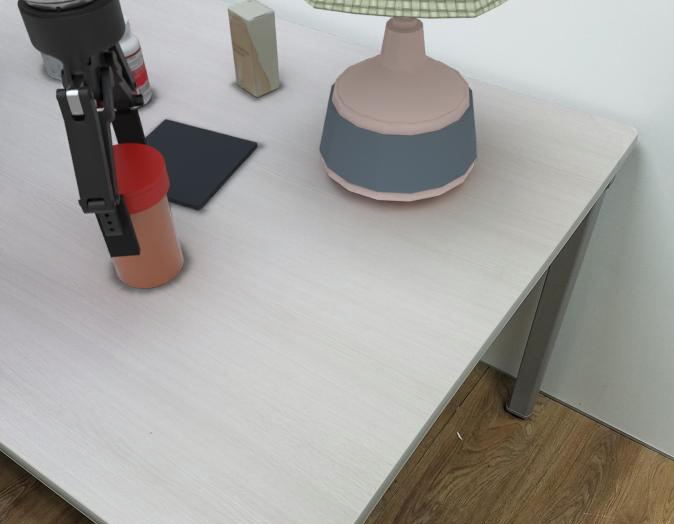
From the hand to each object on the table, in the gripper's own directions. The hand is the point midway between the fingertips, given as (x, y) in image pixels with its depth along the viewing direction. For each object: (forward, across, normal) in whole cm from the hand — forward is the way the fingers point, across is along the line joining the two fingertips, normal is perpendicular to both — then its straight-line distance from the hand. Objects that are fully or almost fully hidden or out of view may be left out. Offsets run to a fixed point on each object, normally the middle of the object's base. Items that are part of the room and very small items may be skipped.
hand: (133, 208), depth 70 cm
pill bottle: (+8, +34, +6) cm, 36 cm away
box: (+8, +36, -12) cm, 39 cm away
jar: (+8, 0, 0) cm, 8 cm away
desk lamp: (+8, +14, -29) cm, 33 cm away
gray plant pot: (+8, +45, +14) cm, 48 cm away
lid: (-4, 0, 0) cm, 4 cm away
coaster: (+8, +18, -2) cm, 20 cm away
